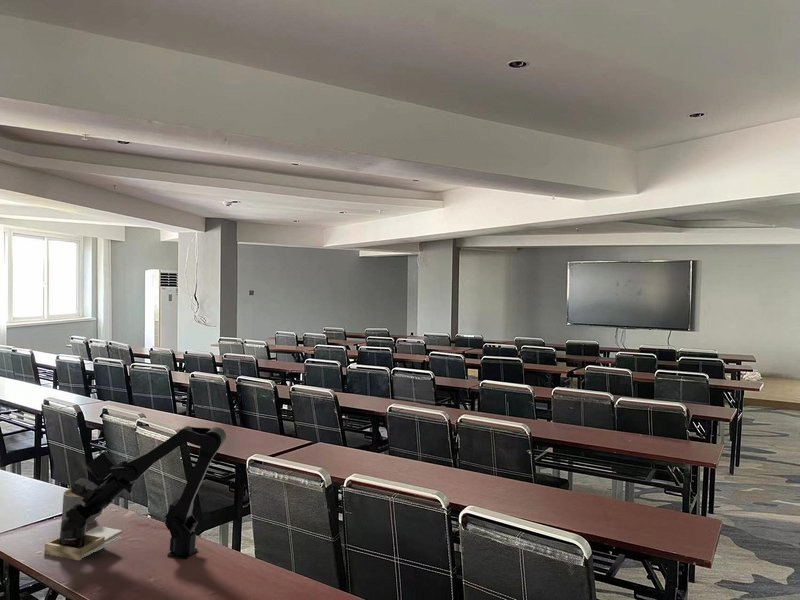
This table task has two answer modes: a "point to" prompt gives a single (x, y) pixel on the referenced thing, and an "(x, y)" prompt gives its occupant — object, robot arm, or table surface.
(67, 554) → the frame
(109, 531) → the felt mat
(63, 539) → the supplement bottle
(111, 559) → the table surface
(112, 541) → the frame lid
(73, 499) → the coffee mug
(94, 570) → the table surface
